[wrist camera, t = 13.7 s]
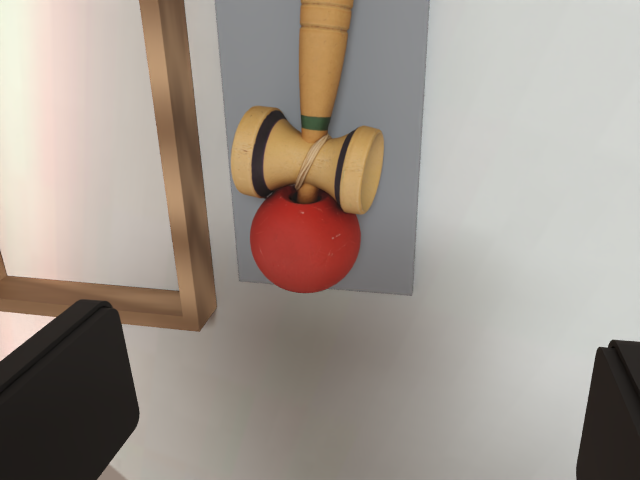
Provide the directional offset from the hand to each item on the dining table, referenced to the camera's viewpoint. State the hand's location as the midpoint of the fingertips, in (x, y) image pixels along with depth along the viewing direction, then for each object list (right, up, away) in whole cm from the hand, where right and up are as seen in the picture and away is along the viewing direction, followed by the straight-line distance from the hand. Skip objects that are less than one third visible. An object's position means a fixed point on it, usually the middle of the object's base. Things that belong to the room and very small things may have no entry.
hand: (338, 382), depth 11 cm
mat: (0, +9, +20) cm, 22 cm away
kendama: (0, +10, +20) cm, 22 cm away
